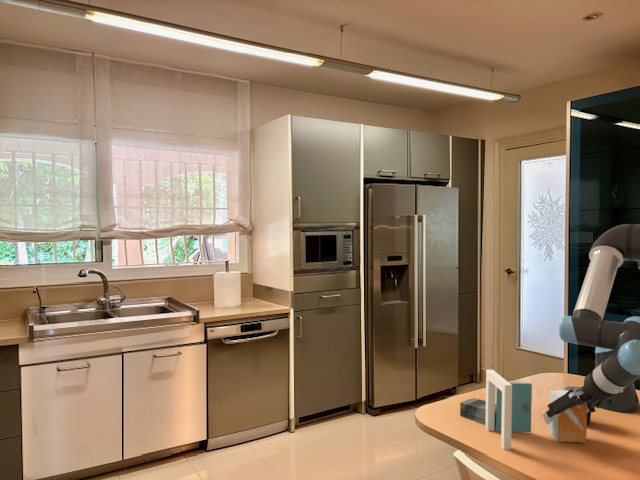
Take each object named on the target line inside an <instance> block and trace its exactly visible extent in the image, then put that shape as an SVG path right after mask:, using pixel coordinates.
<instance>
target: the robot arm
mask: <svg viewBox="0 0 640 480" xmlns="http://www.w3.org/2000/svg"><path fill="white" fill-rule="evenodd" d="M588 258H589V260H590V262H589V264H588V267H587V271H586V273H585V276H584V280H583V283H582V286H581V289H580V292H579V294H578V297H577V301H576V304H575V307H574V309H573V313H572V315H563V316H562V317H561V319H560V320H559V326H558V334H559V337H560V339H561V340H562V342H565V343H569V344H574V345H576V346H577V345H581V346H588V347H595V350H594V355H595V359H594V365H595V366H594V367H595V368H594V369H593V370H592V371H591V372H590V373H589V374H588V375H586V376H585V377H584V379H583V386H579V387H580V388H579V390H577V391H575V392H574V391H573V389H572V390H569V391H568V392H567V393H566V394H564V395H563V396H561V397H560V398H558V399H557V400H555V401H553V402H552V403H550V402H549V404H547V408H548V410H546V411H545V412H544V413H543V414H542V415H541V416H542V418H543V420H544V422H545V424H546V425H549V423H550V422H552V421H553V420H554V419H555V418H557V417H558V416H559V415H561V414H560V413H561V412H563V411H565V410H567V409H569V408H571V407H573V406H575V405H577V404H578V405H582V404H584V403H586V402H587V412H589V411H590V410H591V413H595V412H597V411H596V409H595V408H597V409H600V408H601V409H604V410H605V409H606V410H609V411H614V412H622V413H625V412H626V413H632V412H633V413H634V412H637V411H639V410H640V400H639V396H638V393H637V391H636V388H635V381H637V380H640V316H630V317H628V318H626V319H625V320H624V321H623V322H620V321H612V320H611V321H610V320H603V319H604V316H605V313H606V309H607V307H608V302H609V299H610V296H611V291H612V288H613V286H614V281H615V278H616V275H617V271H618V268H620V267H621V266H622V265H623V264H624V261H631V262H633V261H634V262H637V268H638V269H639V270H640V223H639V224H636V223H633V224H631V223H626V224H620V225H616V226H614V227H611V228H610V229H607V231H605V232H603V233H602V234H601V235H600V236H599V237H598V238H597V239H596V240H595V241H594V242H593V244H592V246H591V247H590V250H589V253H588ZM578 397H579V398H580V400H581V401H580V400H579V399H578Z"/></svg>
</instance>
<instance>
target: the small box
mask: <svg viewBox="0 0 640 480" xmlns="http://www.w3.org/2000/svg"><path fill="white" fill-rule="evenodd" d="M567 392H568V391H567V390H564V389H560V390H559V389H558V390H557V389H555V390H553V389H550V390H549V404H550V403H552V402H553V401H555V400H557V399H558V398H560V397H561V396H563V395H564V394H566V393H567ZM574 392H575V391H574ZM578 399H579V400H580V398H579V397H578ZM580 401H581V400H580ZM560 414H561V415H559V416H558V417H557V418H555V419H554V420H553V421H552V422H550V423H549V424H548V425H549V426H548V427H549V428H548V433H549V435H551V436H552V437H553V439H555V441H557V442H558V443H559V442H560V443H561V442H564V443H566V442H567V443H586V442H587V426H588V425H587V402H586V403H584V404H582V405H578V404H577V405H575V406H573V407H571V408H569V409H567V410H565V411H563V412H561V413H560ZM586 425H587V426H586Z"/></svg>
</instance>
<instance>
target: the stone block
mask: <svg viewBox="0 0 640 480" xmlns="http://www.w3.org/2000/svg"><path fill="white" fill-rule="evenodd" d="M496 405H497V403H495V420H494V429H496ZM459 414H460V415H459V416H460V417H463V418H465V419H468V420H470V421H474V422H479V423H481V424H483V425H485V424H486V400H484V399H479V398H476V397H473V398H470V399H466V400H464V401H461V402H460V407H459Z"/></svg>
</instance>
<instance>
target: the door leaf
mask: <svg viewBox="0 0 640 480" xmlns="http://www.w3.org/2000/svg"><path fill="white" fill-rule="evenodd" d="M508 382H509V383H510V384H511V385H512V423H511V433H532V402H533V401H532V399H533V395H532V394H533V392H532V390H533V383H531V382H511V381H508ZM496 404H497V405H496V428H495V431H497V432H501V421H502V391H501V390H499V389H498V388H497V387H496Z"/></svg>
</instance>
